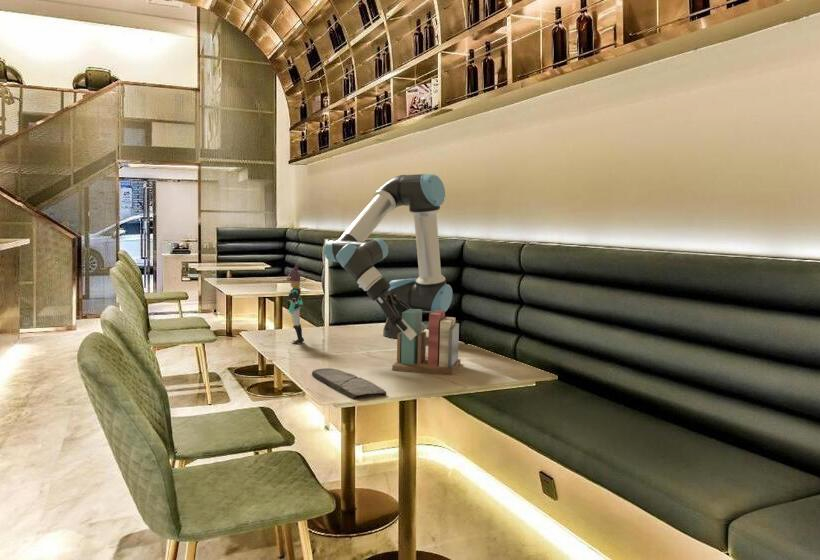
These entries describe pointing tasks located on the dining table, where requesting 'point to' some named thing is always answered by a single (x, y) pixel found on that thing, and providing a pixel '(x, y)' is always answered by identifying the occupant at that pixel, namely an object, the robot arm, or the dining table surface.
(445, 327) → the book rack
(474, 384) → the dining table surface
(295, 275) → the figurine
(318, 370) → the stone slab
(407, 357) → the book
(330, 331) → the dining table surface
